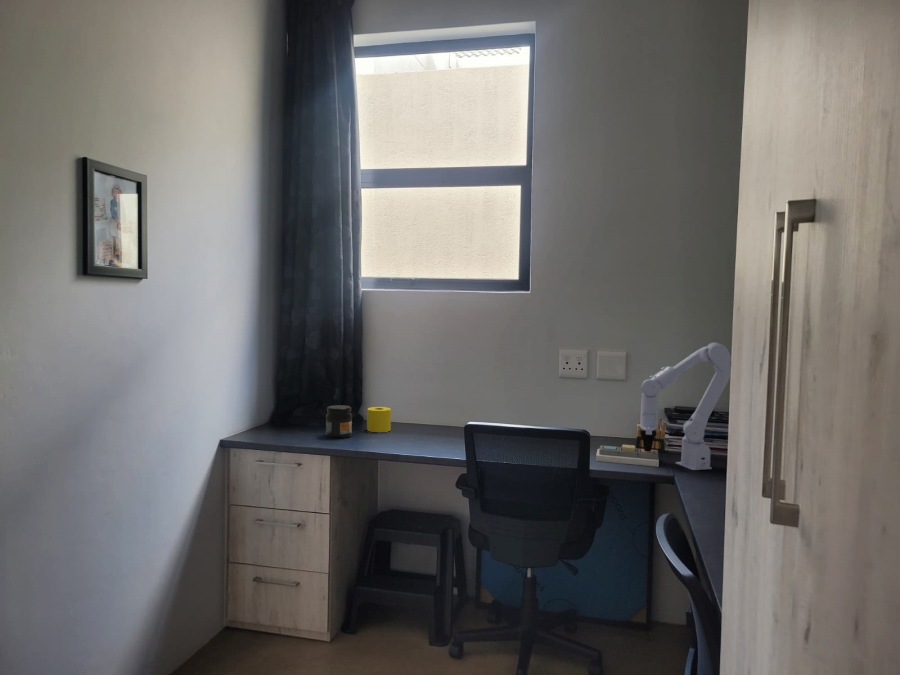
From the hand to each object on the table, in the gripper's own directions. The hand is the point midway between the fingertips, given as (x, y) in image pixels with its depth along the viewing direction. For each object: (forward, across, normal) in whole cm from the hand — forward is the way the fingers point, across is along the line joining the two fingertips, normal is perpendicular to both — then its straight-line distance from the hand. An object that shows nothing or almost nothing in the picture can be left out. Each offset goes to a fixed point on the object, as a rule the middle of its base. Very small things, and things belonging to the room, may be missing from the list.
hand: (647, 450), depth 218 cm
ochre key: (+1, 0, -7) cm, 7 cm away
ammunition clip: (+4, -20, +2) cm, 21 cm away
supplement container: (+4, +3, -120) cm, 120 cm away
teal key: (+2, 0, -13) cm, 13 cm away
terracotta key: (+2, 0, 0) cm, 2 cm away
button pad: (+4, 0, -6) cm, 8 cm away
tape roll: (+4, -13, -109) cm, 110 cm away
